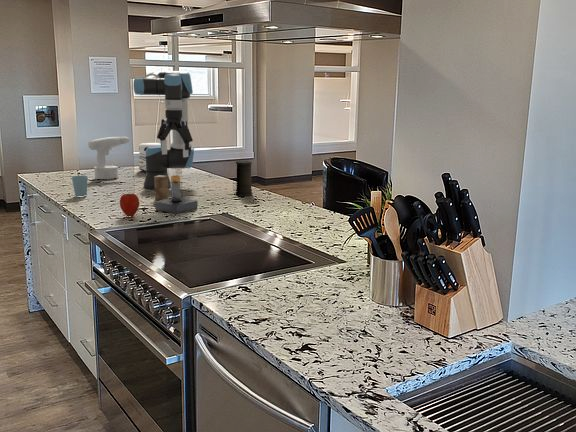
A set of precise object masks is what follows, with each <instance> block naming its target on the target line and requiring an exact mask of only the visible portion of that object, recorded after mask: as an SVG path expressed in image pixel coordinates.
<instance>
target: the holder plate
mask: <svg viewBox="0 0 576 432" xmlns="http://www.w3.org/2000/svg"><path fill="white" fill-rule="evenodd" d="M180 200H181V202H172V197H169V199H165V200H155V202H154V210H155V209H156V210H155V211H158V210H161V211H160V212H163V211H165V212H164V213H168V212H169V213H168V214H174V215H179V213H180V214H184V213H187V212H191V211H194V210H198V209H199V208H198V204H199V203H198V200H196V199H190V198H184V197H180Z"/></svg>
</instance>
